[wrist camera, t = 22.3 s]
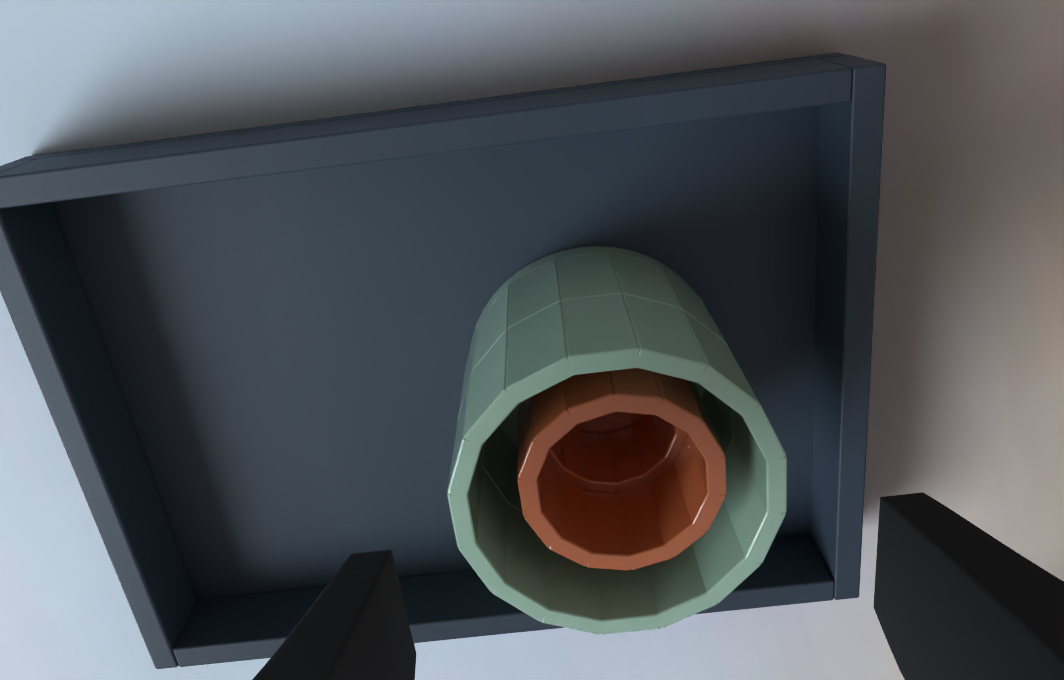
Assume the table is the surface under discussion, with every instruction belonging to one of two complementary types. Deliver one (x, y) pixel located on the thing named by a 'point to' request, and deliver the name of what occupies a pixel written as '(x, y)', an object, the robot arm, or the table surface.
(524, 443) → the brown cup
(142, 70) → the table surface
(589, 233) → the tray
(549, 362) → the green cup
